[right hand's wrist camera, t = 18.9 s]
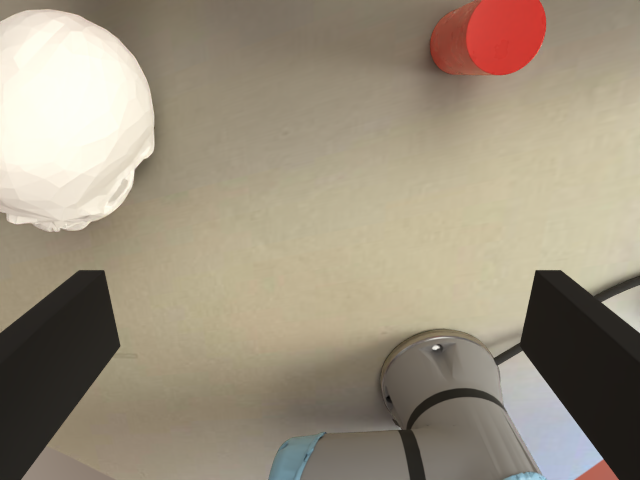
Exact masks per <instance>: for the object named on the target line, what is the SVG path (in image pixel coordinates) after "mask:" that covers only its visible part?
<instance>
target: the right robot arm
mask: <svg viewBox="0 0 640 480" xmlns="http://www.w3.org/2000/svg"><path fill="white" fill-rule="evenodd" d="M638 285H640V276H639V277H636V278H633V279H631V280H628V281H626V282H623V283H621V284H618V285H616V286H614V287H612V288H610V289H608V290H606V291H604V292H602V293H600V294H598V295H596V296H592V295H591V294H590V293H589V292H587V291H586V290H585V289H584V288H582V287H581V286H580V285H579V284H577V283H576V282H575V281H574V280H572V279H571V278H570V277H569V276H567V275H566V274H565V273H564V272H562V271H561V270H536V271H535V276H534V281H533V286H532V290H531V295H530V300H529V304H528V309H527V314H526V318H525V323H524V328H523V333H522V337H521V342H520V343H519V344H517V345H515V346H514V347H512V348H510V349H509V350H507V351H505V352H504V353H502V354H500V355H499V356H497V357H495V358H493V356H492V355H491V353H490V351H489V350H488V348H487V347H486V346H485V345H484V344H483V343H482V342H481V341H480V340H478V339H477V338H475V337H473V336H471V335H469V334H467V333H464V332H461V331H456V330H447V329H441V330H431V331H426V332H423V333H420V334H417V335H414V336H412V337H410V338H408V339H407V340H405V341H404V342H402V343H401V344H399V345H398V346H397V347H396V348H395V349H394V350H393V351H392V352H391V353H390V355H389V356H388V357H387V359H386V361H385V363H384V365H383V367H382V371H381V376H380V384H381V390H382V395H383V399H384V402H385V405H386V406H387V408H388V410H389V411H390V413H391V414H392V415H393V417H394V418H395V420H394V419H393V421H394V422H395V424H396V425H397V426H399V427H401V428H402V430H388V431H372V432H354V433H329V434H327V433H326V432H321V433H319V434H318V435H310V436H301V437H294V438H291V439H289V440H287V441H286V442H284V443H283V444H282V446H281V447H280V448H279V450H278V452H277V454H276V456H275V458H274V461H273V464H272V468H271V471H270V475H269V479H268V480H547V479H546V478H545V477H544V476H543V475H542V473H541V472H540V470H539V468H538V466H537V465H536V463H535V461H534V459H533V458H532V456H531V454H530V452H529V450H528V449H527V447H526V445H525V443H524V442H523V440H522V438H521V436H520V434H519V433H518V431H517V429H516V427H515V426H514V424H513V422H512V420H511V419H510V417H509V415H508V413H507V411H506V410H505V408H504V405H503V398H502V391H501V385H500V372H499V368H498V365H499V364H501V363H503V362H504V361H506V360H508V359H509V358H511V357H513V356H514V355H516V354H518V353H519V352H521V351H524V353H525V354H526V355H527V357H528V358H529V359H530V361H531V362H532V363H533V365H534V366H535V367H536V369H537V370H538V371H539V373H540V374H541V375H542V377H543V378H544V380H545V381H546V382H547V384H548V385H549V386H550V388H551V389H552V390H553V392H554V393H555V394H556V396H557V397H558V398H559V400H560V401H561V402H562V404H563V405H564V406H565V408H566V409H567V410H568V412H569V413H570V414H571V416H572V417H573V418H574V420H575V421H576V422H577V424H578V425H579V427H580V428H581V429H582V431H583V432H584V433H585V435H586V436H587V437H588V439H589V440H590V441H591V443H592V444H593V445H594V447H595V448H596V449H597V451H598V452H599V453H600V455H601V456H602V457H603V459H604V460H605V461H606V463H607V464H608V465H609V467H610V468H611V469H612V471H613V472H614V474H615V475H616V476H617V478H618V479H619V480H640V333H639V332H638V331H636V330H635V329H634V328H633V327H631V326H630V325H629V324H628V323H626V322H625V321H624V320H623V319H621V318H620V317H619V316H617V315H616V314H615V313H614V312H612V311H611V310H610V309H609V308H607V307H606V306H605V305H604V304H602V303H601V302H602V301H604V300H606V299H608V298H610V297H612V296H614V295H616V294H619V293H621V292H623V291H625V290H628V289H630V288H633V287H636V286H638ZM119 347H120V342H119V337H118V333H117V328H116V323H115V318H114V314H113V309H112V304H111V300H110V295H109V290H108V286H107V281H106V276H105V271H104V270H79V271H78V272H76V273H75V274H74V275H73V276H71V277H70V278H69V279H68V280H66V281H65V282H64V283H63V284H61V285H60V286H59V287H58V288H56V289H55V290H54V291H53V292H51V293H50V294H49V295H48V296H46V297H45V298H44V299H43V300H41V301H40V302H39V303H38V304H36V305H35V306H34V307H33V308H31V309H30V310H29V311H28V312H26V313H25V314H24V315H23V316H21V317H20V318H19V319H17V320H16V321H15V322H14V323H12V324H11V325H10V326H9V327H7V328H6V329H5V330H4V331H2V332H1V333H0V480H21V479H22V478H23V476H24V475H25V474H26V472H27V471H28V469H29V468H30V467H31V465H32V464H33V463H34V461H35V460H36V459H37V457H38V456H39V455H40V453H41V452H42V451H43V449H44V448H45V447H46V445H47V444H48V443H49V441H50V440H51V439H52V437H53V436H54V435H55V433H56V432H57V431H58V429H59V428H60V427H61V425H62V424H63V422H64V421H65V420H66V418H67V417H68V416H69V414H70V413H71V412H72V410H73V409H74V408H75V406H76V405H77V404H78V402H79V401H80V400H81V398H82V397H83V396H84V394H85V393H86V392H87V390H88V389H89V388H90V386H91V385H92V384H93V382H94V381H95V380H96V378H97V377H98V375H99V374H100V373H101V371H102V370H103V369H104V367H105V366H106V365H107V363H108V362H109V361H110V359H111V358H112V357H113V355H114V354H115V353H116V351H117V350H118V349H119Z"/></svg>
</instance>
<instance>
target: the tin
mask: <svg viewBox="0 0 640 480" xmlns="http://www.w3.org/2000/svg"><path fill="white" fill-rule="evenodd" d="M545 31H546V16H545V12H544V8H543V6H542V4H541V2H540V1H539V0H475V1H473V2H471V3H468V4H466V5H464V6H462V7H460V8H458V9H456V10H454V11H451V12H450V13H448V14H446V15H445V16H444V17H443V18H442V19H441V20H440V21H439V22H438V23H437V25H436V27H435V28H434V30H433V33H432V36H431V41H430V50H431V55H432V58H433V60H434V62H435V64H436V65H437V66H438V67H439V68H440V69H441V70H442V71H444V72H446V73H448V74H453V75H506V74H510V73H513V72H516V71H518V70H519V69H521V68H523V67H524V66H525V65H527V64H528V63H529V62H530V61H531V60H532V59H533V58H534V56H535V55H536V54H537V52H538V50H539V49H540V47H541V45H542V42H543V39H544V36H545Z"/></svg>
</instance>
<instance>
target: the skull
mask: <svg viewBox="0 0 640 480" xmlns="http://www.w3.org/2000/svg"><path fill="white" fill-rule="evenodd" d="M154 144H155V143H154V110H153V104H152V98H151V92H150V88H149V85H148V82H147V79H146V77H145V75H144V73H143V71H142V70H141V68H140V66H139V64H138V62H137V60H136V59H135V57H134V56H133V54H132V53H131V52H130V51H129V50H128V49H127V48H126V47H125V46H124V45H123V43H122V42H121V41H120V40H119V39H118V38H117V37H115V36H114V35H113V34H111V33H110V32H109V31H107V30H106V29H104V28H102V27H100V26H98V25H96V24H94V23H92V22H90V21H88V20H86V19H84V18H83V17H81V16H79V15H76V14H72V13H68V12H64V11H58V10H51V9H43V10H26V11H23V12H20V13H17V14H14V15H12V16H10V17H8V18H6V19H4V20H2V21H0V212H3V213H6V219H7V221H9V222H11V223H14V224H23V223H32V224H33V225H34V226H36V227H38V228H40V229H43V230H44V231H48V232H49V231H53V230H54V231H55V232H59V230H60V228H61V229H64V230H68V231H77V230H81V229H83V228H85V227H86V226H87V225H88V224H89V223H90V222H92V221H97V220H99V219H102V218H104V217H106V216H107V215H109V214H110V213H112V212H113V211H114V210H116V209H117V208H118V207H119V206H120V205H121V204H122V203H123V201H124V200H125V199H126V197H127V195H128V193H129V191H130V190H131V188H132V185H133V182H134V171H135V168H136V167H137V166H138V165H139V164H140V163H141V162H142V160H143V159H146V158H148V157H149V156H150V155H151V154H152V153H153V151H154ZM52 229H53V230H52Z"/></svg>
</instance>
